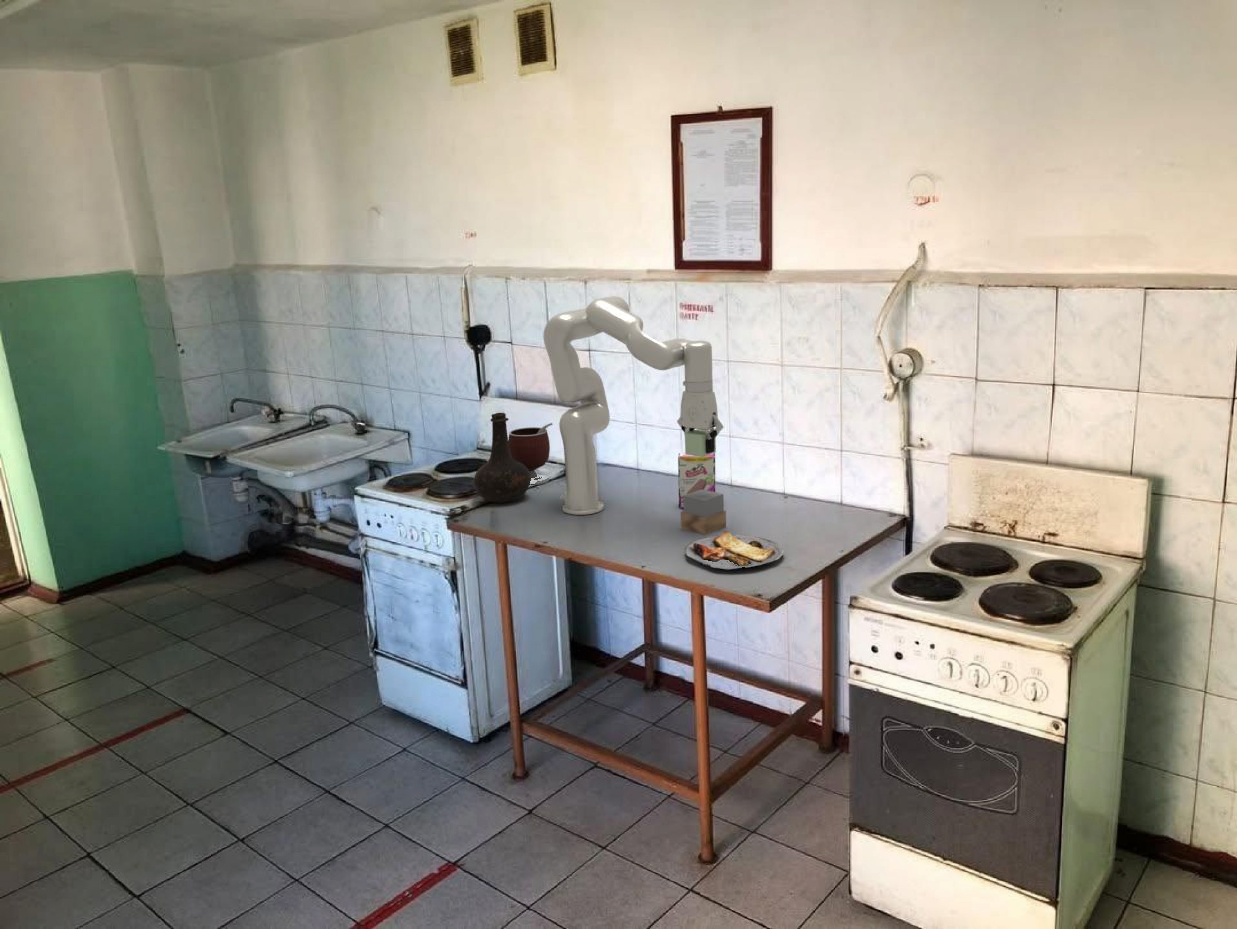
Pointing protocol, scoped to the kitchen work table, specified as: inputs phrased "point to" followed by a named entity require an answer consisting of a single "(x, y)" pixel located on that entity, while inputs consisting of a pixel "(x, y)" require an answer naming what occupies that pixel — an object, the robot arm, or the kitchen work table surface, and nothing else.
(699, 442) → the green cube
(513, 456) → the mate gourd
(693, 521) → the walnut base block
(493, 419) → the glass bottle
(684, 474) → the candy bar box
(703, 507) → the gray middle block
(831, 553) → the kitchen work table surface
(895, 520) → the kitchen work table surface
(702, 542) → the food plate
